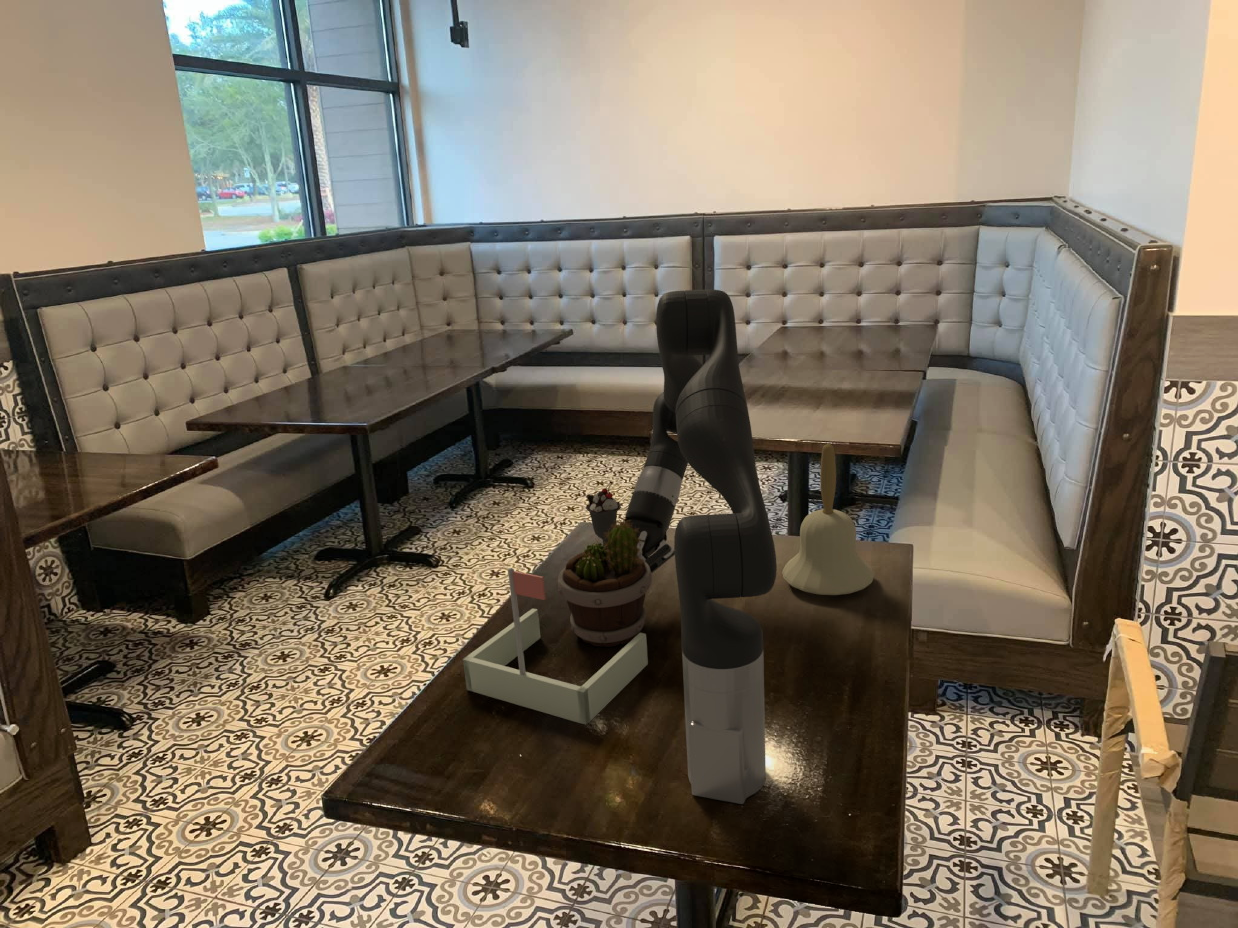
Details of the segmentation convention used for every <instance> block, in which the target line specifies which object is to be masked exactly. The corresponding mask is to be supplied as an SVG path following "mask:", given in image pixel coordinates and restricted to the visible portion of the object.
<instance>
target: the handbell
mask: <svg viewBox="0 0 1238 928" xmlns="http://www.w3.org/2000/svg"><path fill="white" fill-rule="evenodd" d="M820 459H821V460H820V470H819V471H820V473H819V474H820V477H819V478H820V480H819V481H820V482H819V483H820V485H819V486H820V494H821V500H822V505H823V508H821V509H817V510H814V511H812V512H810V513H808V514H807V515H806V516H805V517H804V519H803V521H802V522H801V524H800V530H799V538H800V539H799V540H800V542H799V544H800V547H799V551H798V553H796V555H795V556H793V557H792V558H791V559H790V560H788V562H786V563H785V566H784V568H783V570H782V571H781V574H782V576H783V579H784V580H785V582H787V583H788V584H789V585H790V587H792V588H794V589H798V590H800V591H803V592H804V593H809V594H816V595H825V596H838V595H840V596H841V595H847V594H848V595H849V594H852V593H856V592H860V591H862V590H864V589H865V588H867V587H868V586H870V585H871V584H872V582H873V581H874V578H875V573H874V571H873V570H872V567H871V565H870V564H869V563H867V561H865V560H864V559H863V558H862V557H861V556H860V555H858V553H857V548H856V547H857V545H856V544H857V543H856V542H857V528H856V525H855V523H854V521H853V519H852V518H851V517H850V516H849V515H848V514H847V513H845V512H843V511H842V510H841V511H840V510H838V509H833V507H834V501H835V500H834V499H835V495H836V488H837V487H836V486H837V485H836V484H837V470H836V469H837V467H836V455H835V448H834V446H833V445H832V444H831V443H826V444H824V445H823V446H822V450H821V458H820Z"/></svg>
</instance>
